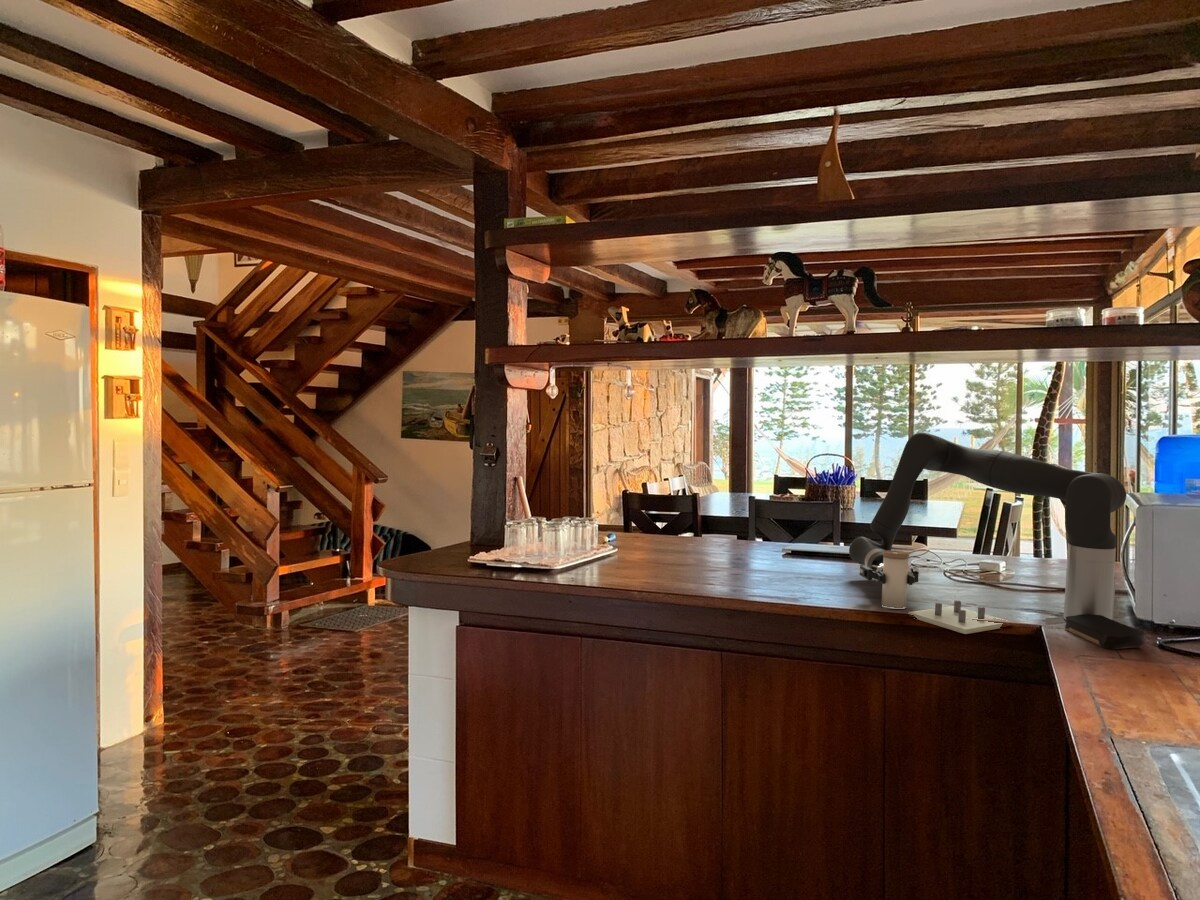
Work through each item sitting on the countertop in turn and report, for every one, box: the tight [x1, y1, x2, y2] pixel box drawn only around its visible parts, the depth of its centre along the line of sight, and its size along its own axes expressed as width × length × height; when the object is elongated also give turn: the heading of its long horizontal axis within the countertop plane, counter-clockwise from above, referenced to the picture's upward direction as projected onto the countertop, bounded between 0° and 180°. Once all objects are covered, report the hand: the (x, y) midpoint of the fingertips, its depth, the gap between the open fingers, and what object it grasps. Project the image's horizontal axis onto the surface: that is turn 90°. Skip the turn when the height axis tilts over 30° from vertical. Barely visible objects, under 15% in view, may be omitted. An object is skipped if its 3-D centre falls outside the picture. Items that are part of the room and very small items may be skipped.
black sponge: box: [1064, 614, 1145, 650], centre depth 171 cm, size 16×8×4 cm, turn 2°
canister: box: [881, 549, 910, 608], centre depth 194 cm, size 6×6×13 cm
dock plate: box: [907, 599, 1012, 635], centre depth 183 cm, size 15×15×4 cm
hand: (897, 580), depth 191 cm, fingers closed on canister, 5 cm apart
